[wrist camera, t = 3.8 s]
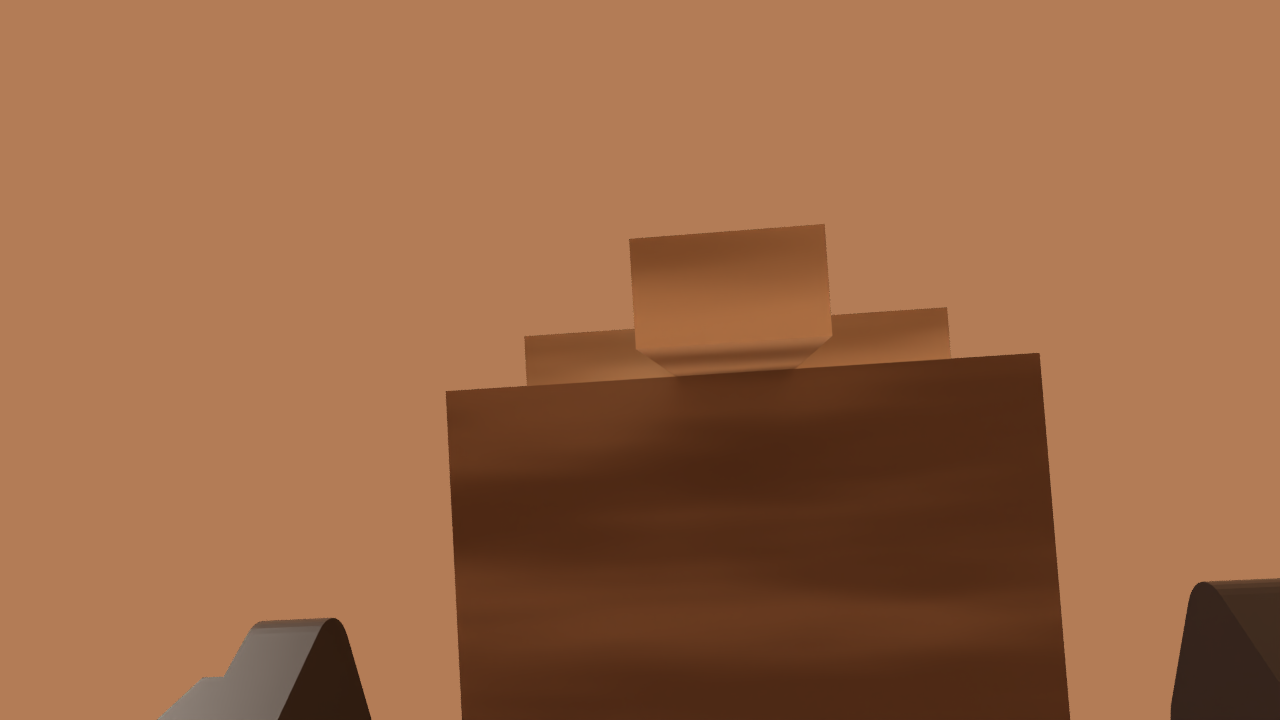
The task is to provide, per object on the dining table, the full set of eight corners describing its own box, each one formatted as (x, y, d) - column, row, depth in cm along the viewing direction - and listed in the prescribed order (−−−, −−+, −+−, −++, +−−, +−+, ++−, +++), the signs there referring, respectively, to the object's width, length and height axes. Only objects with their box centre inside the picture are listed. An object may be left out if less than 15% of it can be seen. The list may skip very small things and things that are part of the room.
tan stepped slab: (1094, 318, 15) (1085, 203, 15) (392, 365, 16) (386, 257, 16) (877, 379, 38) (874, 334, 38) (598, 396, 38) (595, 352, 39)
